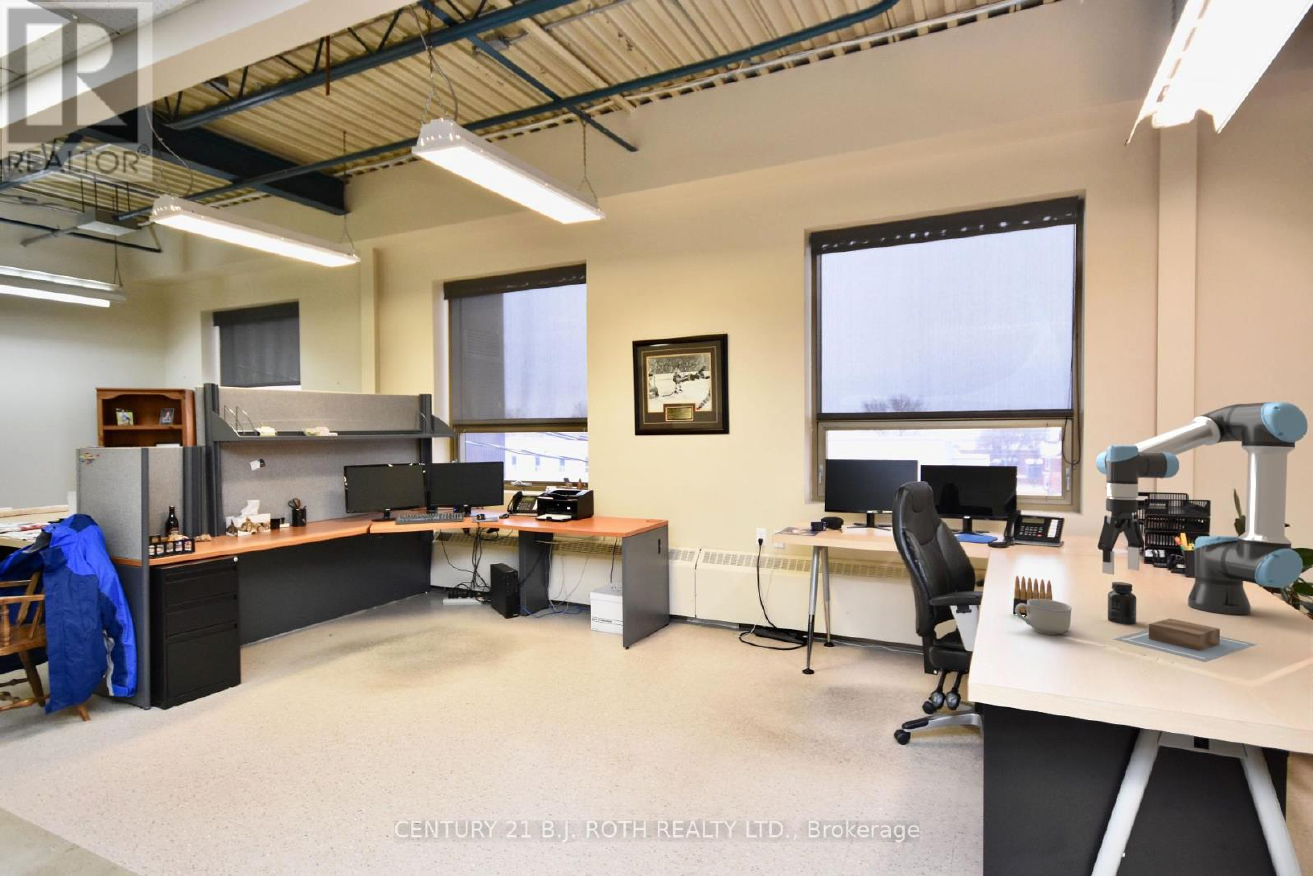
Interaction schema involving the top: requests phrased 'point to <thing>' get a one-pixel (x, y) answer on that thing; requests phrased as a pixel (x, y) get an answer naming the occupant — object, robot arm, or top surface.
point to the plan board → (1202, 655)
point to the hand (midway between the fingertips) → (1121, 571)
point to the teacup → (1046, 616)
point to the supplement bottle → (1122, 604)
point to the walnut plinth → (1184, 634)
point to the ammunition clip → (1029, 593)
